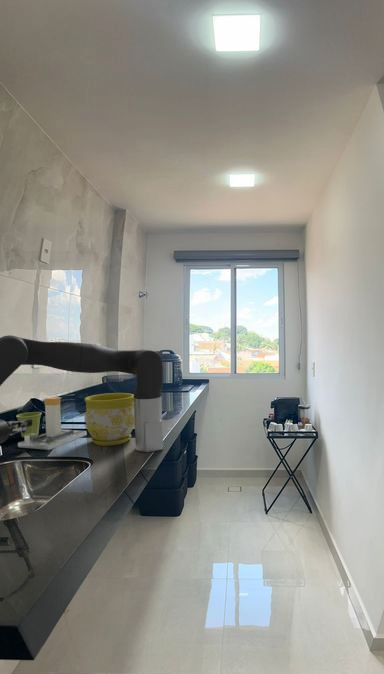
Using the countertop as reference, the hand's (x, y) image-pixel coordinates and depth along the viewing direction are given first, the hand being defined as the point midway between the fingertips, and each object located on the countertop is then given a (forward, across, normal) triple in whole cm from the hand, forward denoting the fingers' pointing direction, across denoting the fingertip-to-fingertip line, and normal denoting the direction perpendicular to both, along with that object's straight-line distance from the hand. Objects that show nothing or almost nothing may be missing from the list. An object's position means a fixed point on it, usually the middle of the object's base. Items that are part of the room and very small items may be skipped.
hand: (30, 422), depth 137 cm
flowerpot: (+16, -22, +9) cm, 29 cm away
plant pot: (+15, +15, +10) cm, 23 cm away
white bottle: (+11, 0, +7) cm, 13 cm away
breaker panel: (+11, 0, +9) cm, 15 cm away
